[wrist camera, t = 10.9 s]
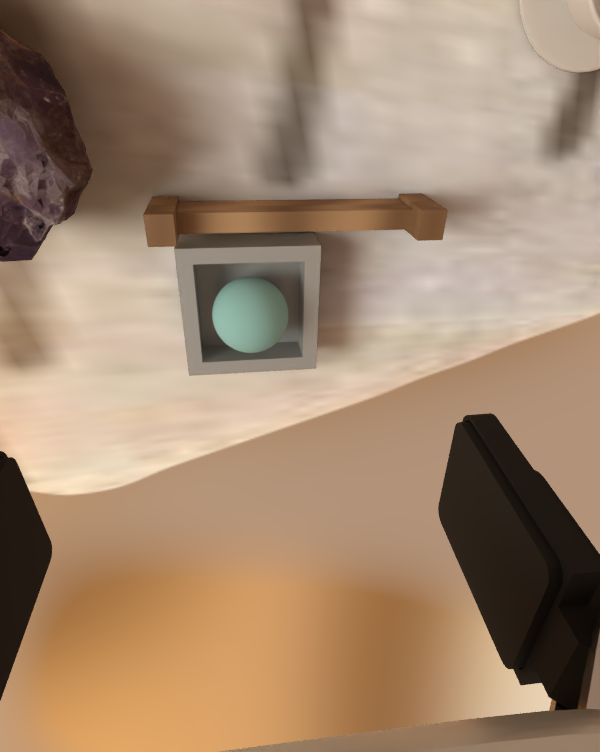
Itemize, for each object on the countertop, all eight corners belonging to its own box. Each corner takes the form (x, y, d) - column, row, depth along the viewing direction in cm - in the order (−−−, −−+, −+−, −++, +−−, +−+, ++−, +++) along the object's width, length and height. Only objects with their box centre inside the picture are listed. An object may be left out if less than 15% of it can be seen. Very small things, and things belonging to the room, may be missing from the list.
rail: (422, 193, 33) (447, 209, 30) (418, 220, 34) (442, 239, 31) (152, 196, 31) (143, 214, 28) (156, 225, 32) (148, 247, 28)
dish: (313, 231, 34) (321, 245, 31) (309, 348, 39) (316, 368, 36) (177, 234, 33) (174, 249, 30) (191, 354, 37) (189, 375, 35)
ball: (285, 264, 34) (292, 294, 30) (285, 330, 37) (291, 365, 32) (211, 266, 33) (207, 295, 29) (216, 332, 36) (213, 368, 32)
